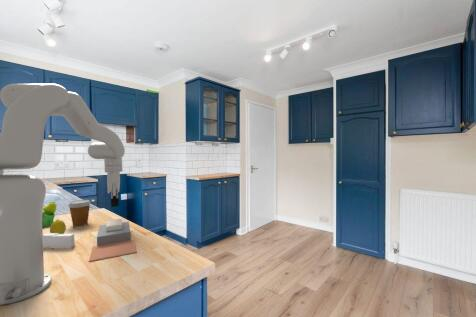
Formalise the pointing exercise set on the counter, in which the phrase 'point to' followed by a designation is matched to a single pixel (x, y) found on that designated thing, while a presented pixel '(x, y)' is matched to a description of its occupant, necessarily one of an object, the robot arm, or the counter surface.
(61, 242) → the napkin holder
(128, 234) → the grey block
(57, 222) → the lemon
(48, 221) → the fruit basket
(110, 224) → the tile
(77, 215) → the disposable coffee cup
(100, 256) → the mat
